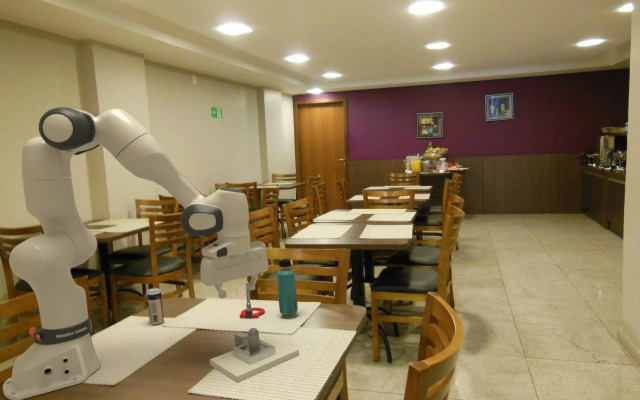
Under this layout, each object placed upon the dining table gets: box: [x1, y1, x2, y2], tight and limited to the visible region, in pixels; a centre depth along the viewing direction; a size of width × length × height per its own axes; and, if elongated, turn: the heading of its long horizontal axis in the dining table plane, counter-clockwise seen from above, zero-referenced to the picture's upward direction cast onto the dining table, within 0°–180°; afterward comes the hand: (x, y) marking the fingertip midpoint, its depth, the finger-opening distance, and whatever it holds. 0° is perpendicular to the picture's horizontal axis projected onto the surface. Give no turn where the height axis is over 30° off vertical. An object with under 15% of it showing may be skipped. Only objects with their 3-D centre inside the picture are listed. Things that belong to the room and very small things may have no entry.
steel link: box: [232, 331, 276, 364], centre depth 125 cm, size 12×8×4 cm
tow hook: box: [239, 280, 266, 319], centre depth 160 cm, size 8×13×9 cm
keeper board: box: [209, 327, 300, 383], centre depth 123 cm, size 20×14×9 cm
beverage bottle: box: [276, 258, 299, 316], centre depth 155 cm, size 6×7×20 cm
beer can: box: [146, 287, 165, 326], centre depth 155 cm, size 5×5×12 cm
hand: (237, 293), depth 126 cm, fingers open, 8 cm apart
